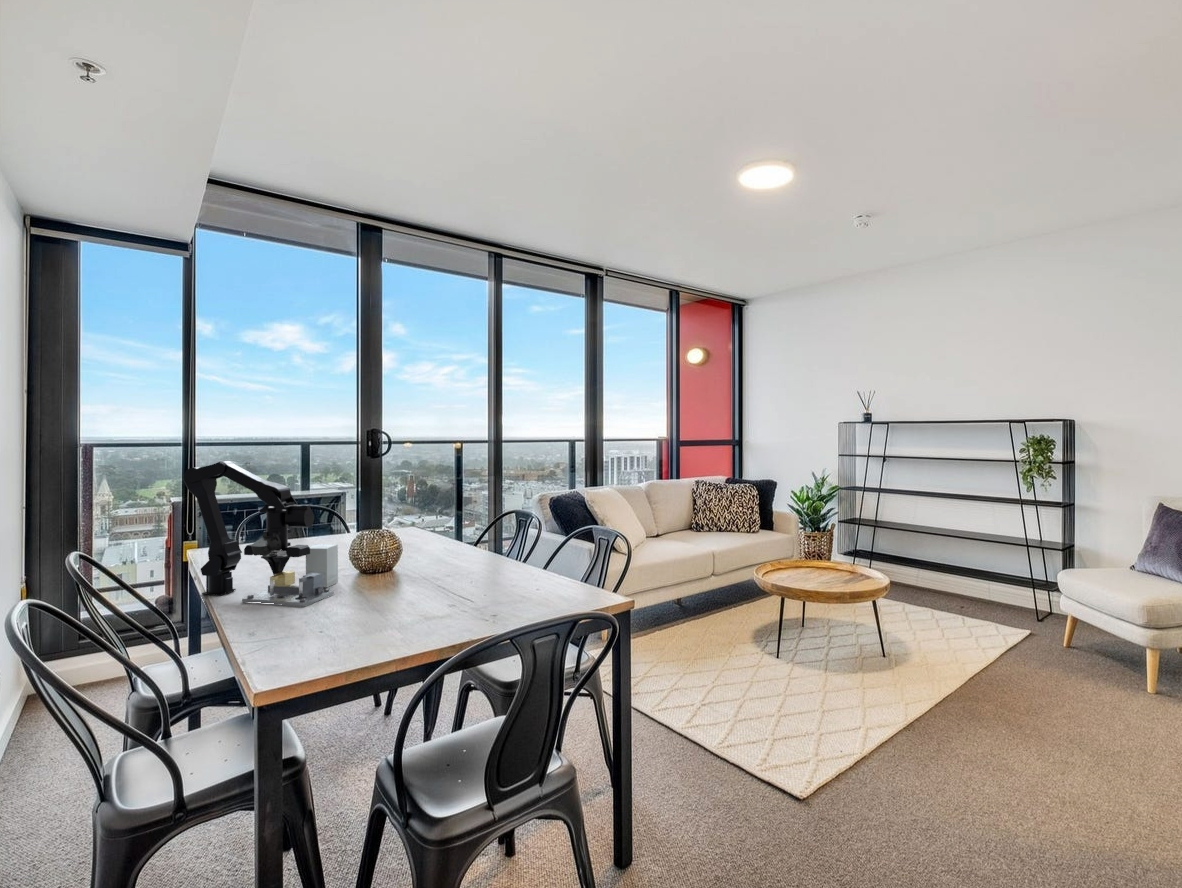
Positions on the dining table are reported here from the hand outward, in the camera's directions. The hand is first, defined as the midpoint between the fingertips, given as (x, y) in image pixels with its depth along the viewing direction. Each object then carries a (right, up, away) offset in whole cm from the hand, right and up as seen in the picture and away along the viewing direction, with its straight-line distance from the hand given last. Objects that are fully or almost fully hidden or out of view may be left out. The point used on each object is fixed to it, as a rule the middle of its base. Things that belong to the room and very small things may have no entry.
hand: (277, 578), depth 184 cm
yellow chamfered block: (+3, -3, -3) cm, 5 cm away
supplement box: (+8, -5, +13) cm, 16 cm away
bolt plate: (+6, -5, -4) cm, 9 cm away
